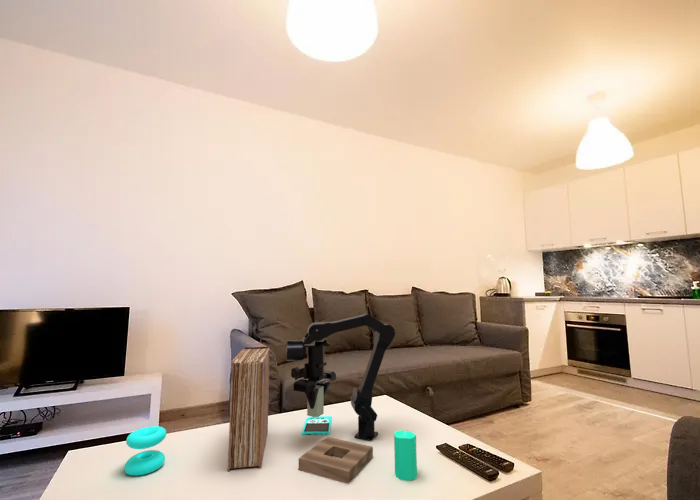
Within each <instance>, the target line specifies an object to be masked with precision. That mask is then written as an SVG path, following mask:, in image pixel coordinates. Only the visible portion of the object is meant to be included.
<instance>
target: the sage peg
mask: <svg viewBox="0 0 700 500" xmlns="http://www.w3.org/2000/svg"><path fill="white" fill-rule="evenodd" d="M316 388H317V389H319V390H318V394H317V398H316V402H315V406H314V409H311V408H310V405H309V402H308V399H307V398H306V399H307V404H306V406H307V410H306V412H307V413H306V415H307V416H308V417H319V416H323V414H324V413H325V412H324V409H325V408H324V402H325V401H324V398H325V396H324V386H318V385H316Z"/></svg>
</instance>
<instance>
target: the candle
mask: <svg viewBox="0 0 700 500" xmlns="http://www.w3.org/2000/svg"><path fill="white" fill-rule="evenodd" d="M393 436H394V437H393V439H394V440H393V441H394V446H393V448H394V450H393V451H394V475H395V477H396V478H398V479H399V480H400V481H401V480H402V481H407V482H409V481H414V480H416V479H417V477H418V465H417V464H418V459H417V455H418V454H417V435H416V434H415V433H414V432H412V431H411V430H402V429H399V430H396V431H394V433H393Z"/></svg>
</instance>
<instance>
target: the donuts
mask: <svg viewBox="0 0 700 500" xmlns="http://www.w3.org/2000/svg"><path fill="white" fill-rule="evenodd" d="M166 437H167V430H166V428H164V427H163V426H158V425H151V426H145V427H142V428H138V429H136V430H134V431H132V432H131V433H129V434H128V435H127V438H126V440H125V442H126V445H127V447H128V448H131V449H132V450H133V449H134V450H144V451H141V452H138V453H136V454H134V455H132V456H130V457H129V458H128V459H127V461H125V463H124V467H123V468H124V472H125V473H126V474H128V475H130V476H143V475H147V474H150V473H151V474H152V473H153V472H155V471H157V470H158V469H160V468H161V467H162V466H163V465H164V463H165V460H166V456H165V454H164V453H163V452H162V451H160V450H158V449H157V450H156V449H151V450H146V449H150V448H153V447H155V446H157V445H159V444H160V443H162V442H163V441H164V440H165V439H166Z"/></svg>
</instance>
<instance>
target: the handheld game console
mask: <svg viewBox="0 0 700 500" xmlns="http://www.w3.org/2000/svg"><path fill="white" fill-rule="evenodd" d="M331 424H332V416H330V415H325V416H324V415H320V416H319V417H312V416H308V417H306V418H305V422H304V425H303V428H302V431H301V435H302V436H318V435H319V436H323V435H324V436H328V435H330V433H331Z"/></svg>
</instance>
